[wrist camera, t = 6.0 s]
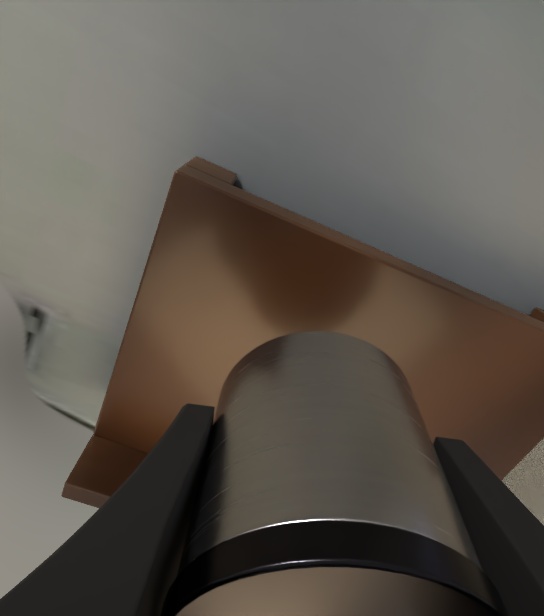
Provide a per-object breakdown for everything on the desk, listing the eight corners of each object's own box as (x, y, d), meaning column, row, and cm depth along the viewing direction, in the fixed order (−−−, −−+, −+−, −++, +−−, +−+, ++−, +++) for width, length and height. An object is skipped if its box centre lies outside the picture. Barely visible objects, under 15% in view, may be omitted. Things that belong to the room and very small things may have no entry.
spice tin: (444, 342, 10) (595, 593, 5) (387, 493, 12) (450, 766, 7) (223, 311, 10) (153, 538, 5) (208, 470, 12) (151, 731, 7)
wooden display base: (568, 321, 17) (673, 410, 13) (410, 502, 23) (442, 614, 18) (195, 155, 15) (149, 186, 10) (115, 400, 20) (60, 497, 15)
